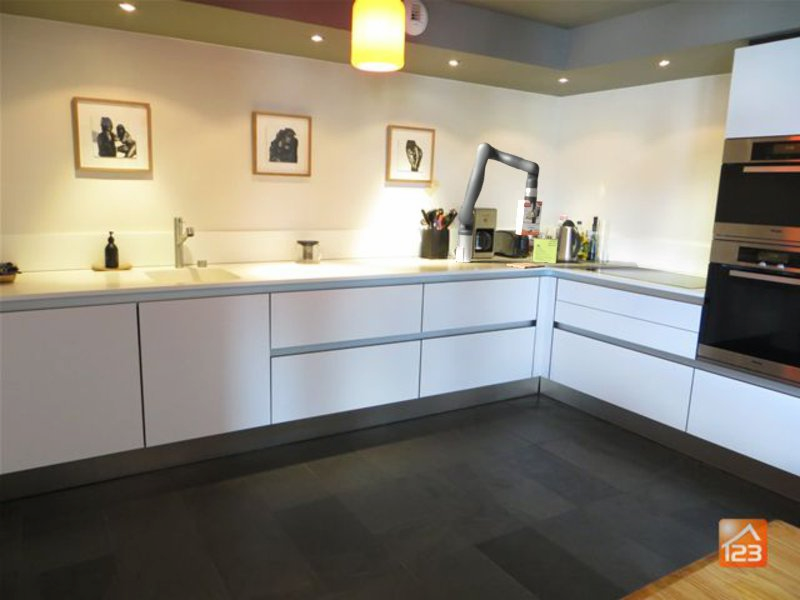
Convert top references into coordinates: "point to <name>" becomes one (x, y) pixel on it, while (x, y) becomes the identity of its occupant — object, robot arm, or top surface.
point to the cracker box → (527, 218)
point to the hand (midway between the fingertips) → (528, 223)
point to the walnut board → (525, 265)
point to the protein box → (545, 250)
